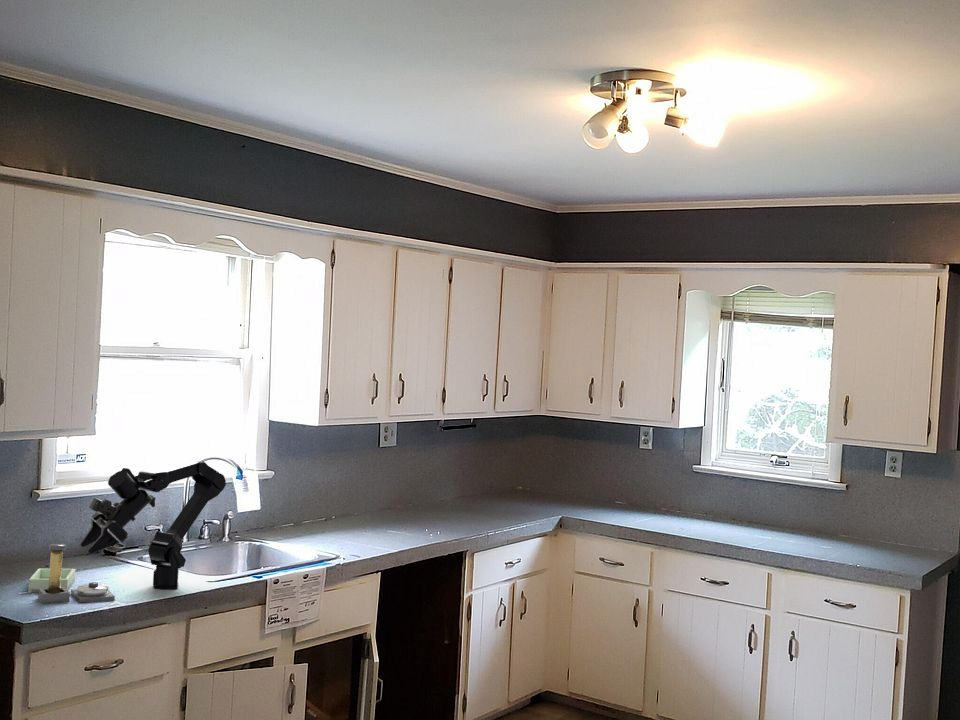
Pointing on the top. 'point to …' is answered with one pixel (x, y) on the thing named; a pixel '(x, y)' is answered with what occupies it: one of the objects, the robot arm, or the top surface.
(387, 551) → the top surface
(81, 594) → the grey low boxy pieces
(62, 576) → the tray
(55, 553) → the lock pin
